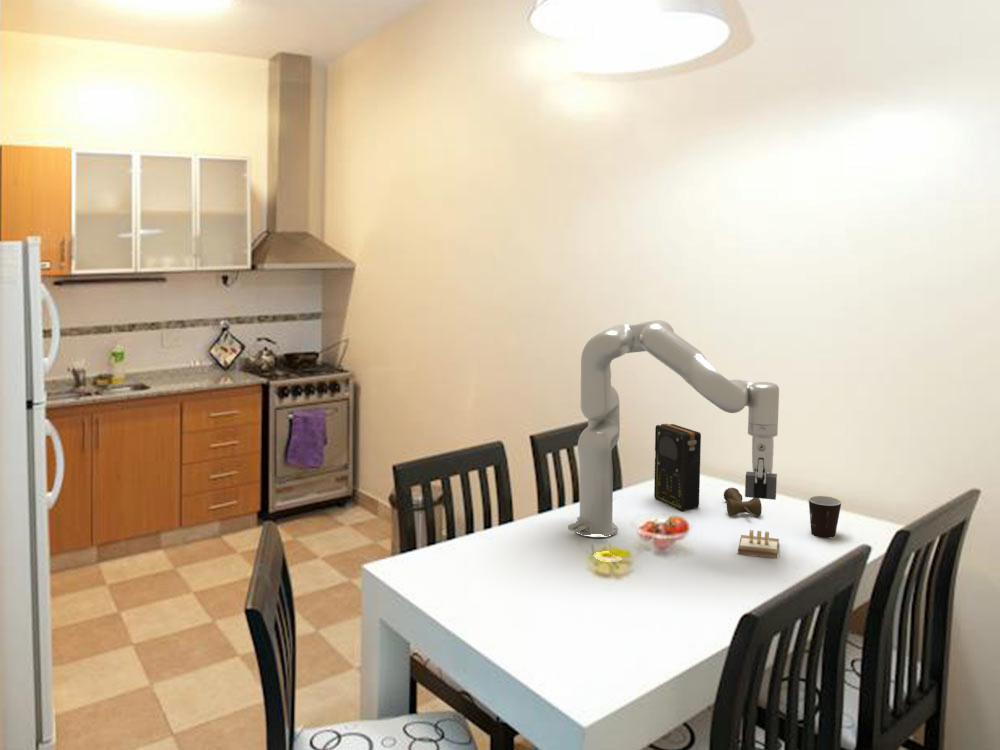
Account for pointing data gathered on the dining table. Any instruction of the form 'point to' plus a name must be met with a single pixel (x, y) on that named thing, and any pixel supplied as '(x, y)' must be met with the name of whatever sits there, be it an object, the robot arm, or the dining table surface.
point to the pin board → (758, 545)
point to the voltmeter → (677, 466)
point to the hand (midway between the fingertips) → (760, 494)
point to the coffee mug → (824, 515)
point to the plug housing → (770, 481)
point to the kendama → (741, 503)
